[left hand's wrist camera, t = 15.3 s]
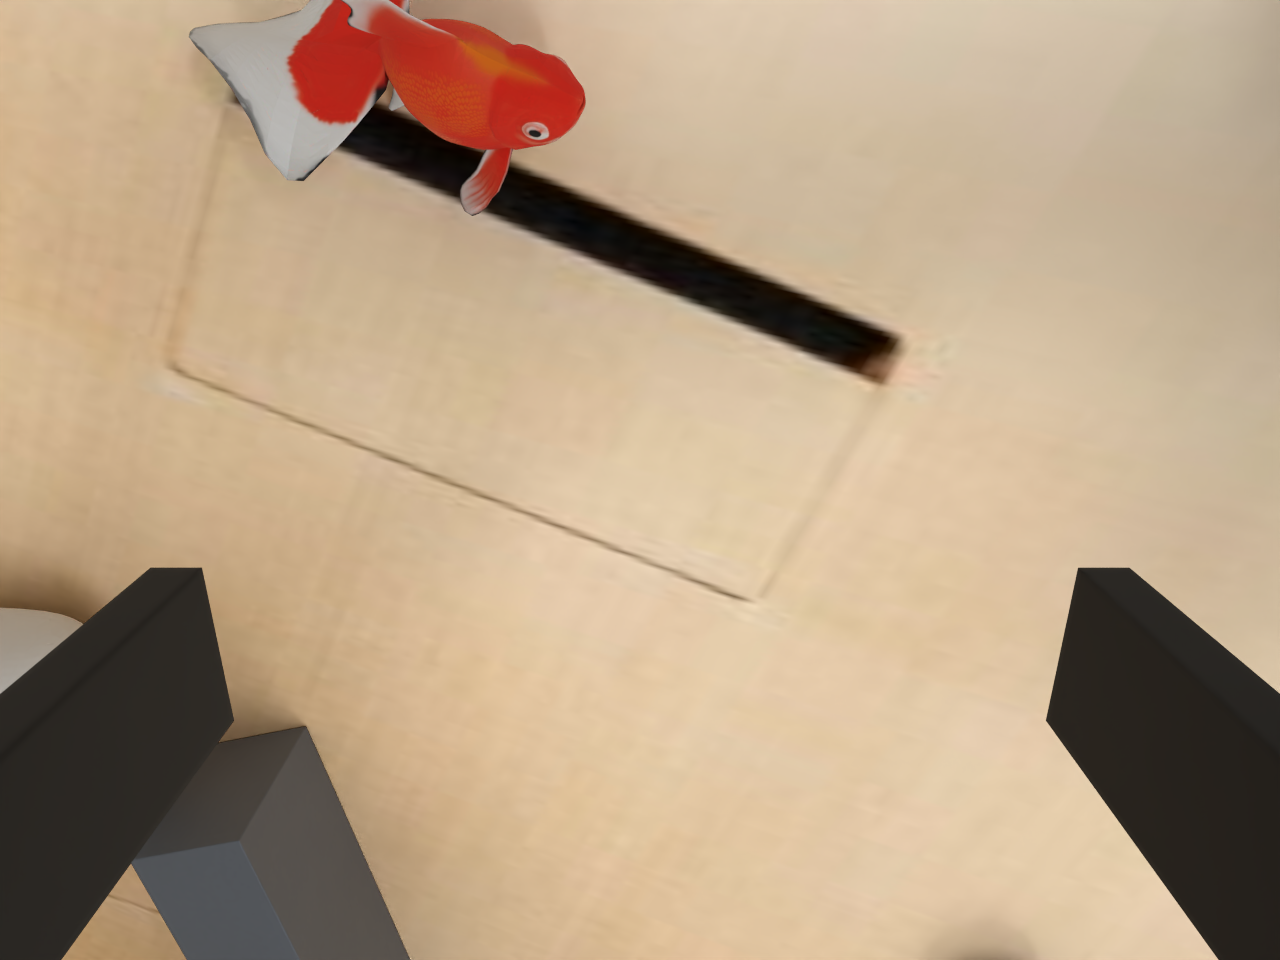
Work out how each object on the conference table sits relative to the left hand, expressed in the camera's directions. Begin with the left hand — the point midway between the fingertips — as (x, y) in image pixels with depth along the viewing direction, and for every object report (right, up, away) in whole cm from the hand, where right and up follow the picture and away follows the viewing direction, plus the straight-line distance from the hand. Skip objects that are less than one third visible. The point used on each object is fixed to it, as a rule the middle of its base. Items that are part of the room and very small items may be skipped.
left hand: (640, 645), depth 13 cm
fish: (-10, +20, +23) cm, 32 cm away
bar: (-19, -23, +40) cm, 50 cm away
